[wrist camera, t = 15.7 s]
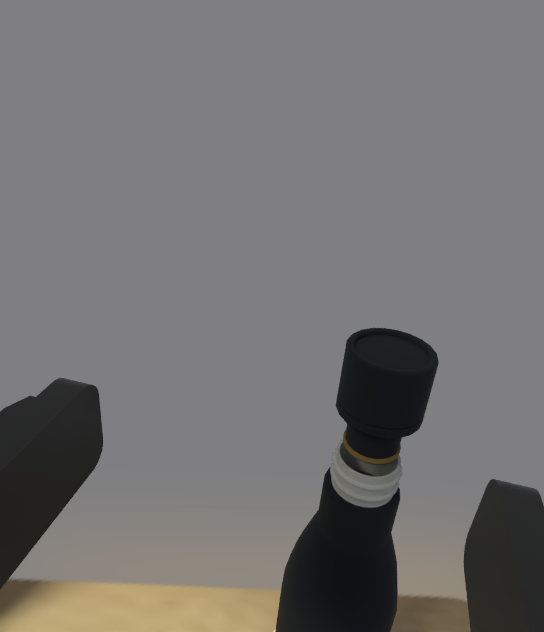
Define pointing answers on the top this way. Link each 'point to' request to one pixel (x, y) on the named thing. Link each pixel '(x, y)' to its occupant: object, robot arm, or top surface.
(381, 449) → the black insulated water bottle
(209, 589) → the top surface
